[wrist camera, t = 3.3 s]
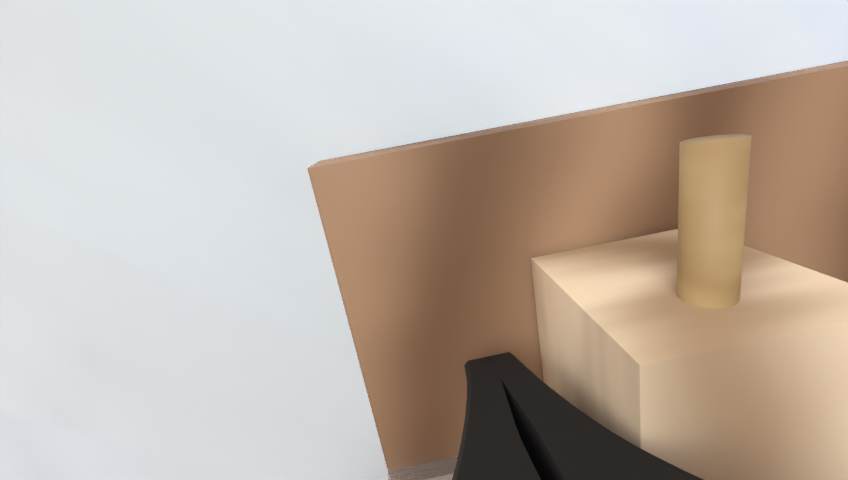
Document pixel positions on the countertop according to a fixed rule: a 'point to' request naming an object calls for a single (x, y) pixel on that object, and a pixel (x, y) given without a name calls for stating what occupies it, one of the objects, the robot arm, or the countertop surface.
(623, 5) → the countertop surface
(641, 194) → the walnut board
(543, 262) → the beige peg block
